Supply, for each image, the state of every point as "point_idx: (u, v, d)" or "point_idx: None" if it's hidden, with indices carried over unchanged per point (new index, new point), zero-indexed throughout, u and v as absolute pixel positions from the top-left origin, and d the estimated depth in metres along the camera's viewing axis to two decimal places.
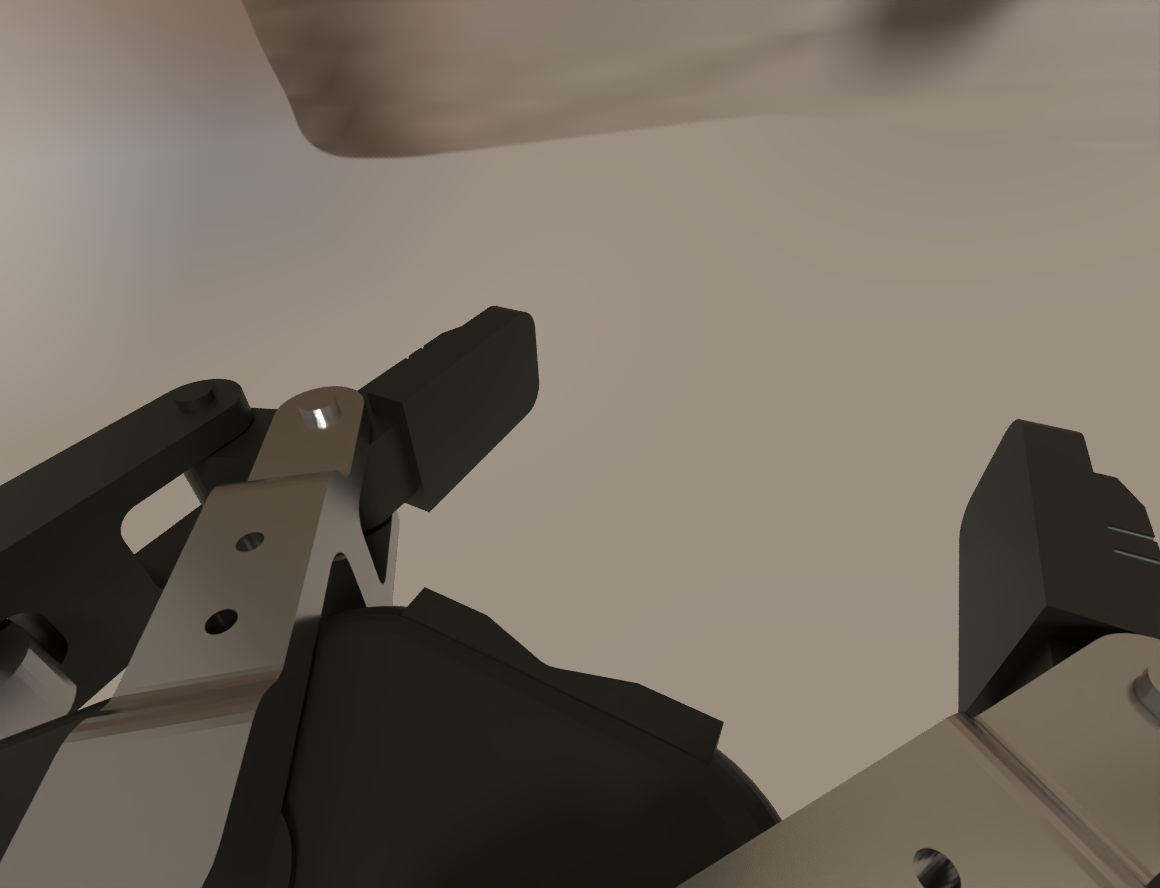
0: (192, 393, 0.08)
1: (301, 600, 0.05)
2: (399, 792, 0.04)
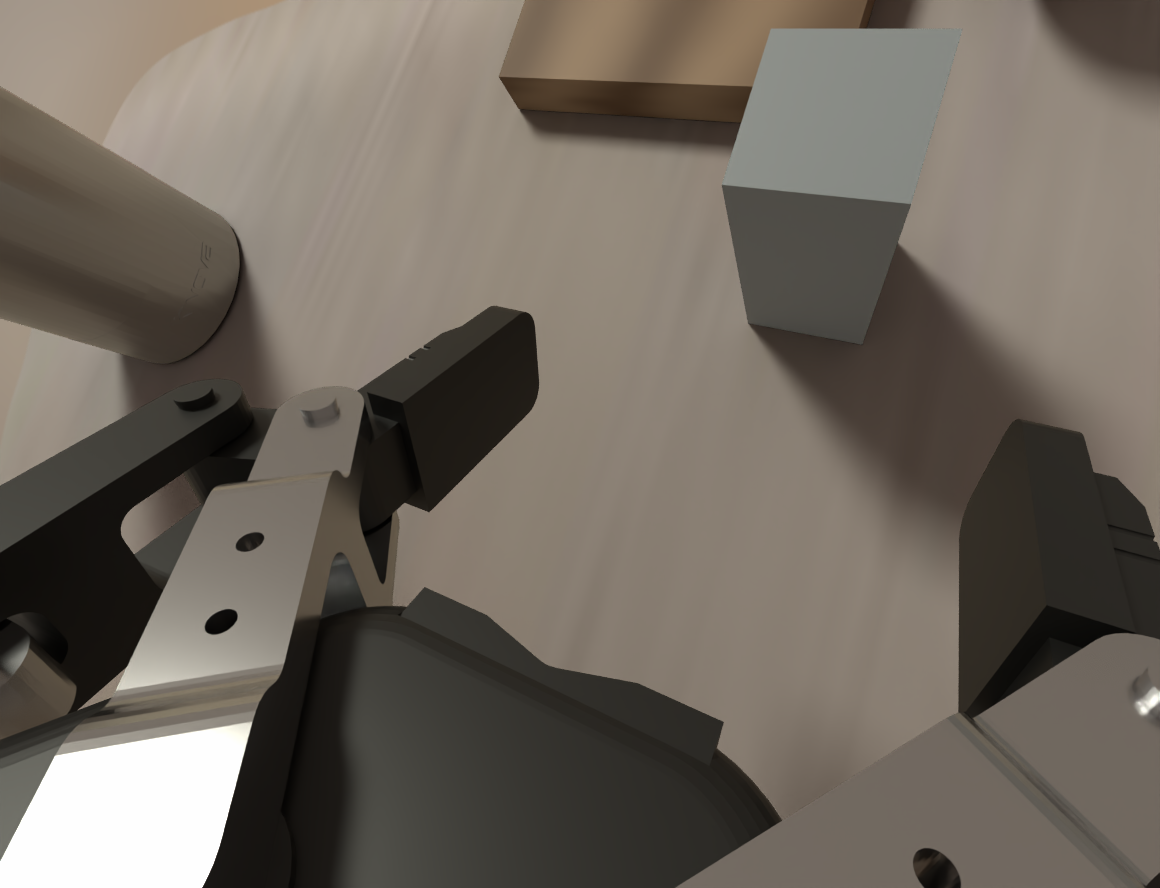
0: (192, 393, 0.08)
1: (301, 600, 0.05)
2: (399, 793, 0.04)
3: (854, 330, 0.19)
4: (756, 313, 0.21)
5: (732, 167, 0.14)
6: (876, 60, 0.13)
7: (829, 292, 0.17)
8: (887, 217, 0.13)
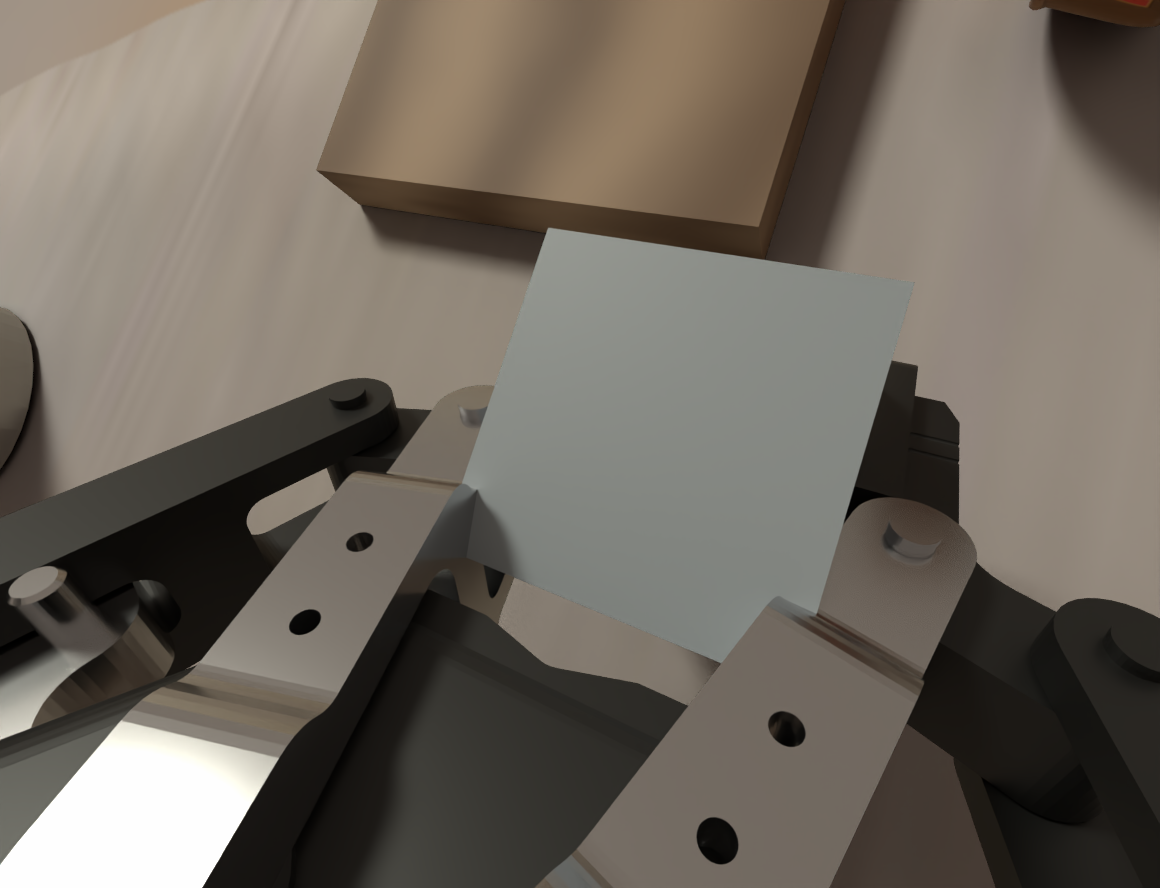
0: (346, 394, 0.08)
1: (381, 623, 0.05)
2: (399, 793, 0.04)
3: None
4: None
5: None
6: (736, 328, 0.06)
7: None
8: None
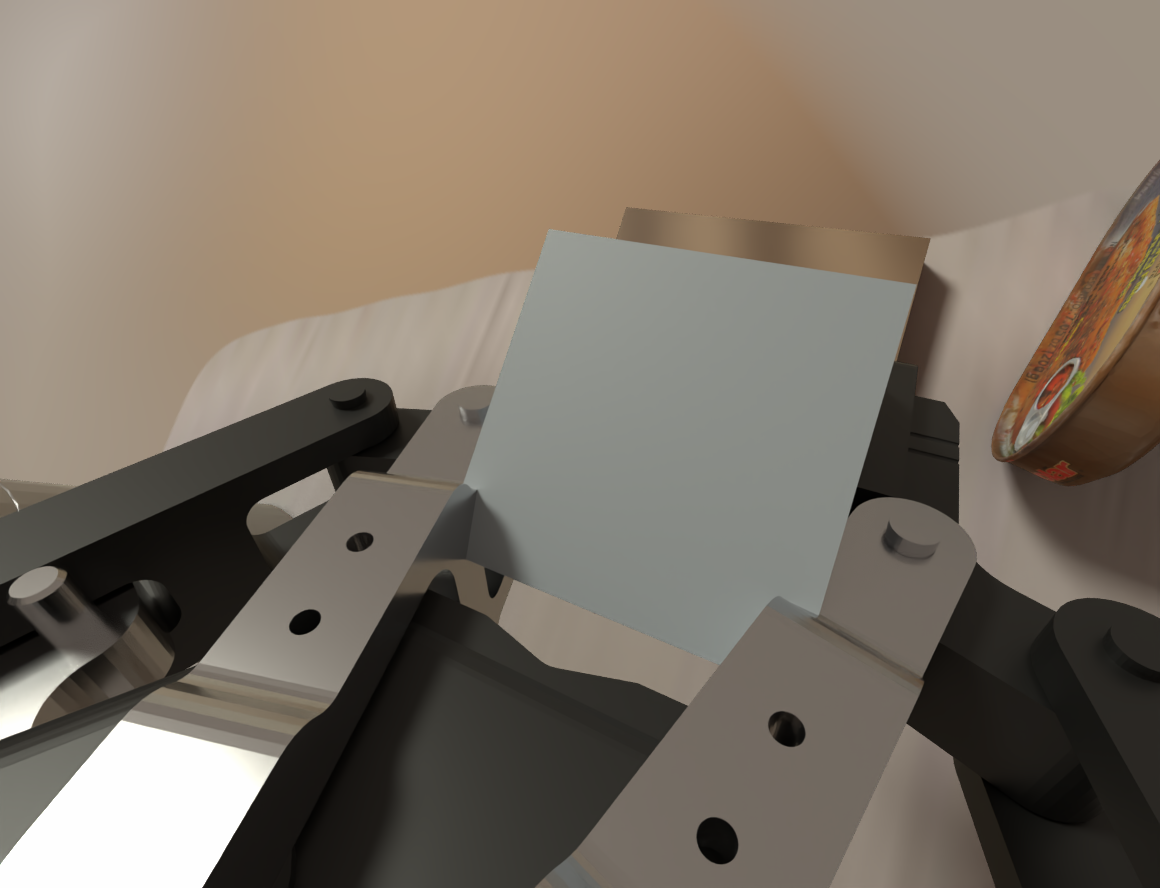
0: (346, 394, 0.08)
1: (381, 623, 0.05)
2: (399, 792, 0.04)
3: None
4: None
5: None
6: (739, 329, 0.06)
7: None
8: None
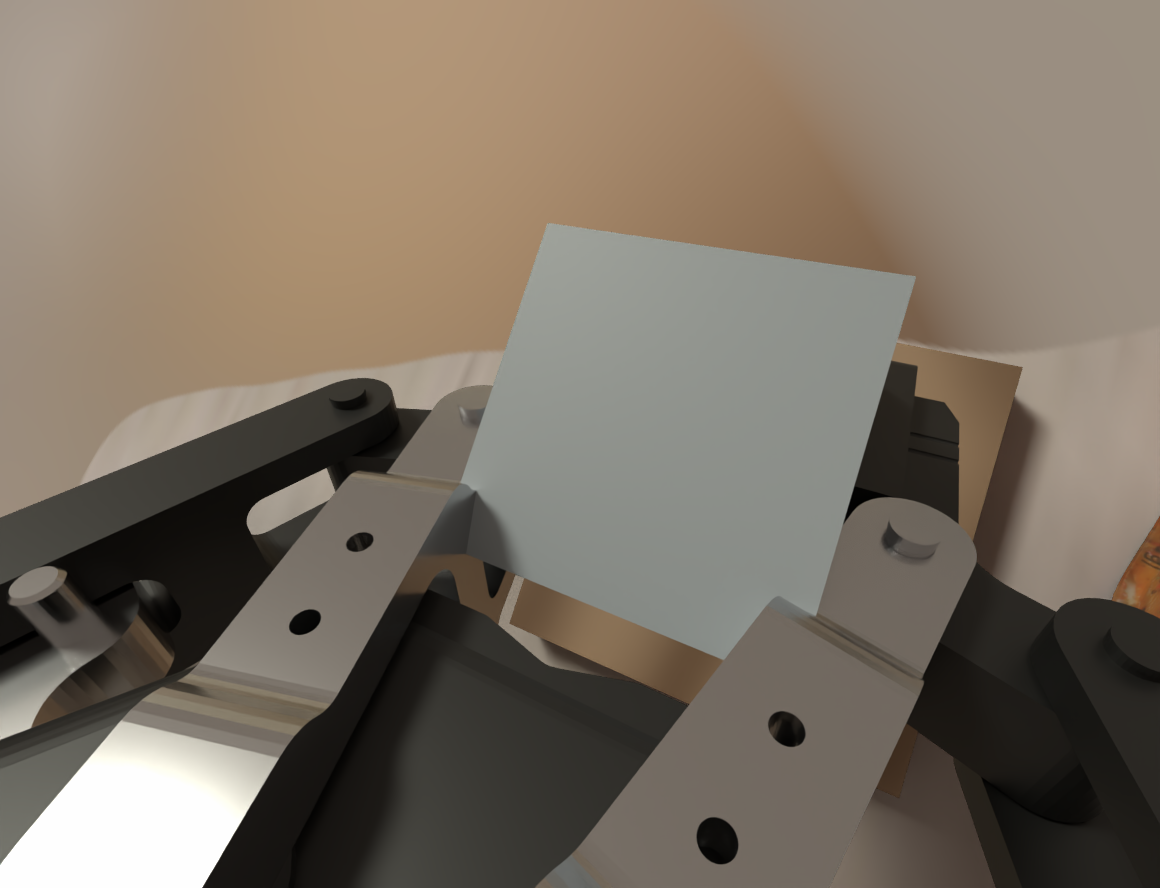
0: (346, 394, 0.08)
1: (381, 623, 0.05)
2: (399, 792, 0.04)
3: None
4: None
5: None
6: (737, 323, 0.06)
7: None
8: None
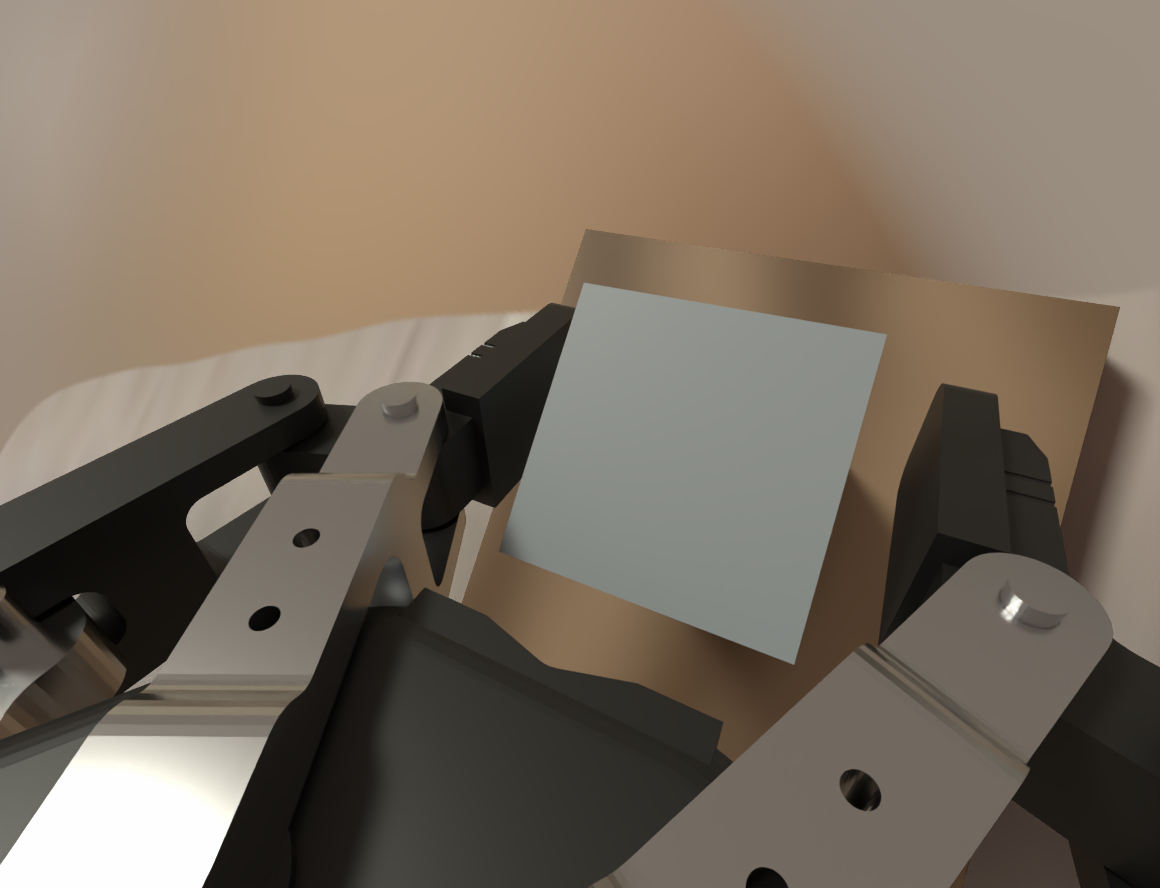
0: (271, 389, 0.08)
1: (343, 608, 0.05)
2: (398, 793, 0.04)
3: None
4: None
5: (516, 521, 0.08)
6: (743, 369, 0.07)
7: None
8: None
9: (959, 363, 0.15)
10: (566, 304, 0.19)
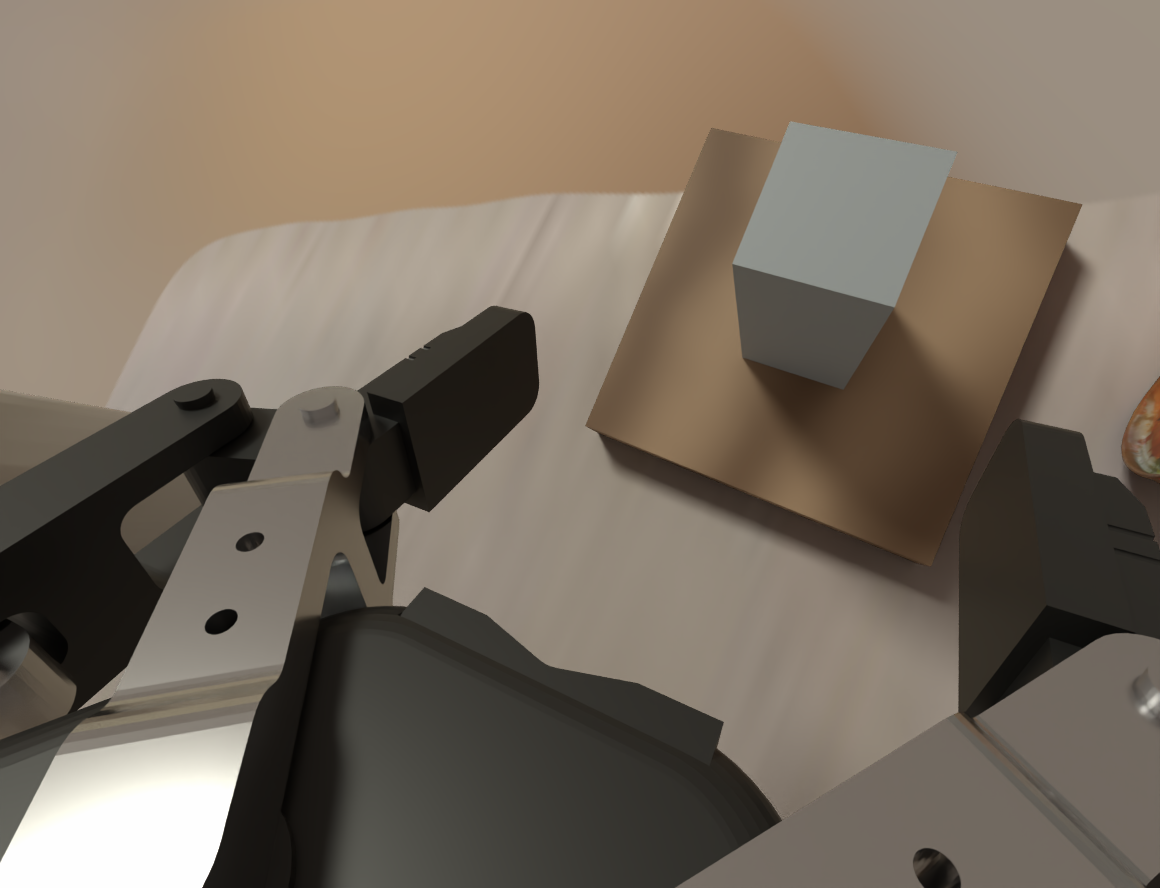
0: (192, 393, 0.08)
1: (301, 600, 0.05)
2: (399, 792, 0.04)
3: (837, 379, 0.21)
4: (751, 352, 0.22)
5: (743, 248, 0.15)
6: (880, 168, 0.14)
7: (818, 350, 0.19)
8: (873, 311, 0.15)
9: (973, 237, 0.22)
10: (692, 183, 0.25)
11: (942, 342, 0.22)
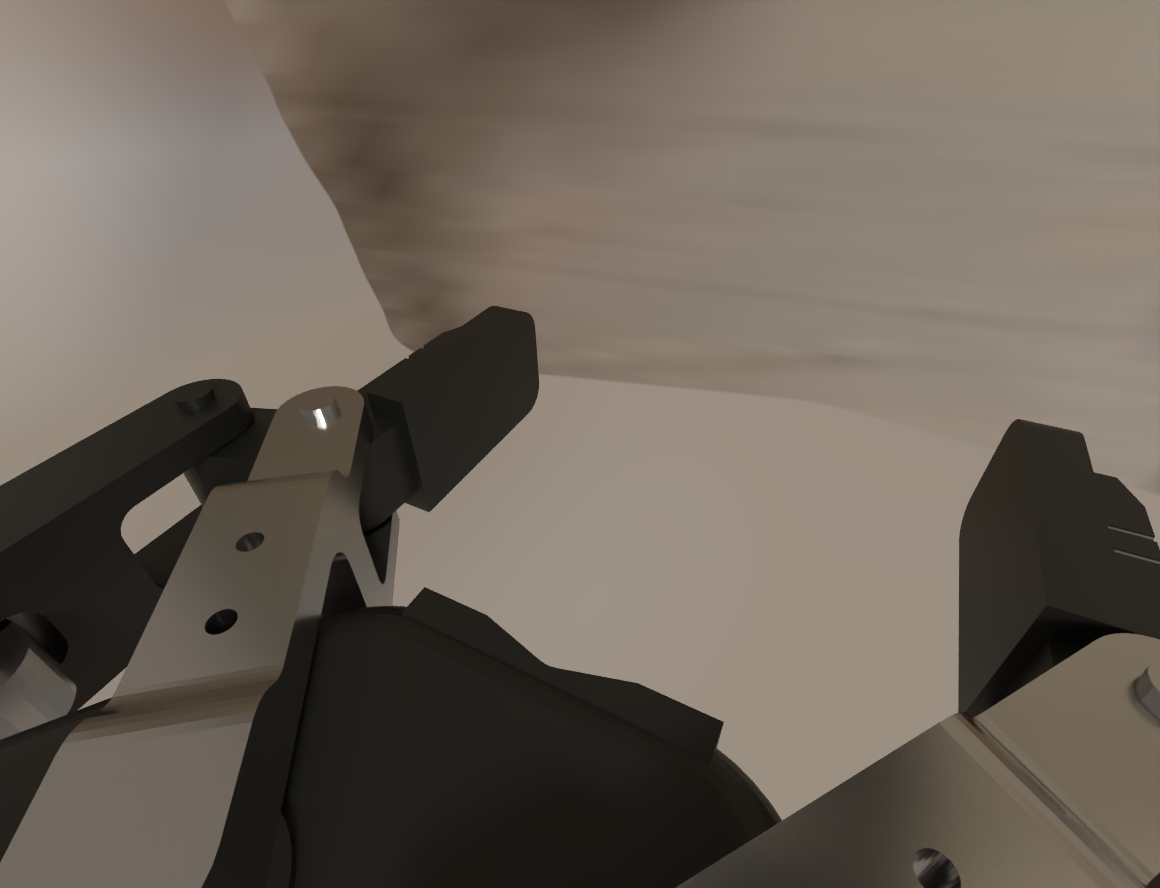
0: (192, 393, 0.08)
1: (301, 600, 0.05)
2: (399, 792, 0.04)
3: None
4: None
5: None
6: None
7: None
8: None
9: None
10: None
11: None
